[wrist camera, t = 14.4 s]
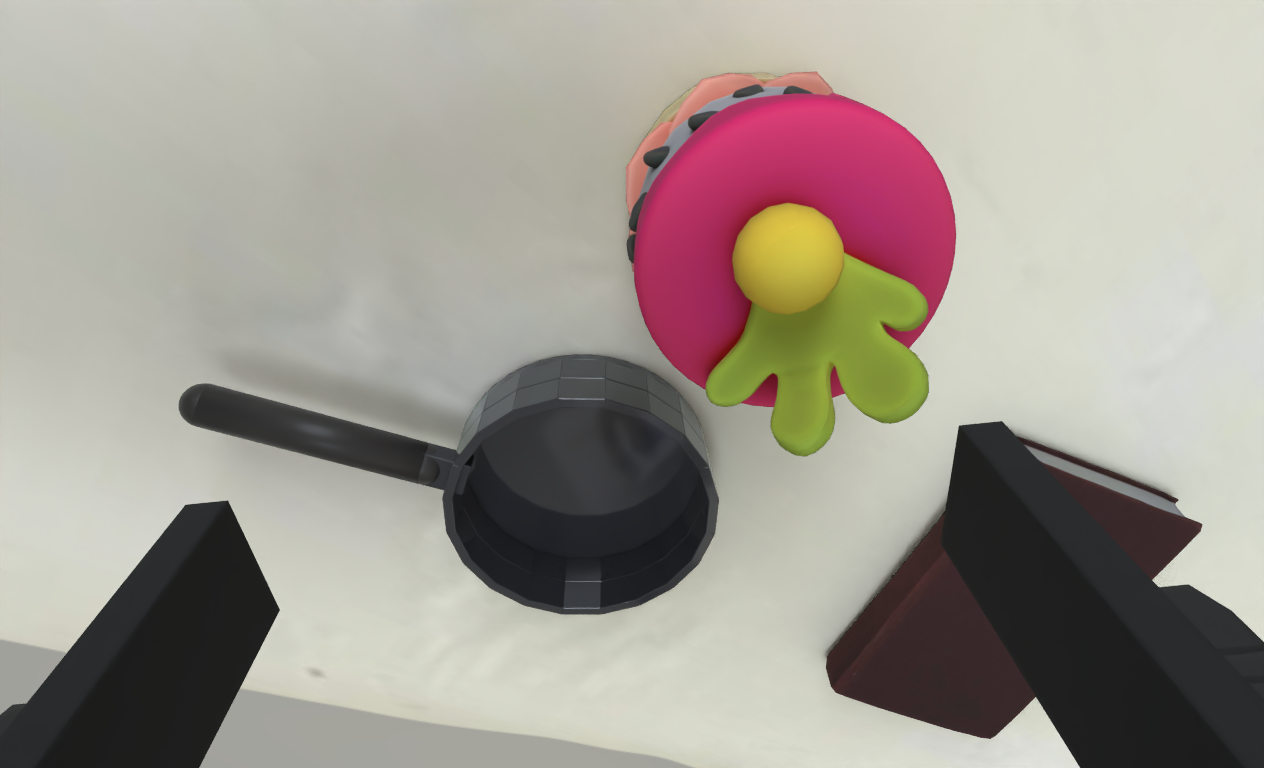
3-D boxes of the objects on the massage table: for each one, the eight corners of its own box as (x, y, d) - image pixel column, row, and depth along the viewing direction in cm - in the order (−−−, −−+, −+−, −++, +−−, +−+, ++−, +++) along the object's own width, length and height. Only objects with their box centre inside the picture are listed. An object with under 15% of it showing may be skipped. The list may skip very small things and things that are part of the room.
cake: (574, 193, 32) (551, 334, 18) (753, 2, 28) (881, 6, 15) (730, 340, 35) (803, 544, 22) (904, 187, 32) (1113, 321, 19)
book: (818, 655, 47) (832, 699, 44) (999, 425, 38) (1031, 460, 35) (972, 699, 49) (995, 742, 46) (1172, 493, 41) (1215, 531, 38)
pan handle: (476, 447, 35) (470, 471, 33) (467, 478, 36) (460, 503, 34) (194, 370, 32) (170, 391, 31) (191, 406, 33) (168, 428, 31)
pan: (746, 397, 37) (762, 445, 33) (655, 578, 43) (660, 637, 39) (496, 320, 34) (481, 362, 30) (436, 524, 40) (417, 581, 36)
